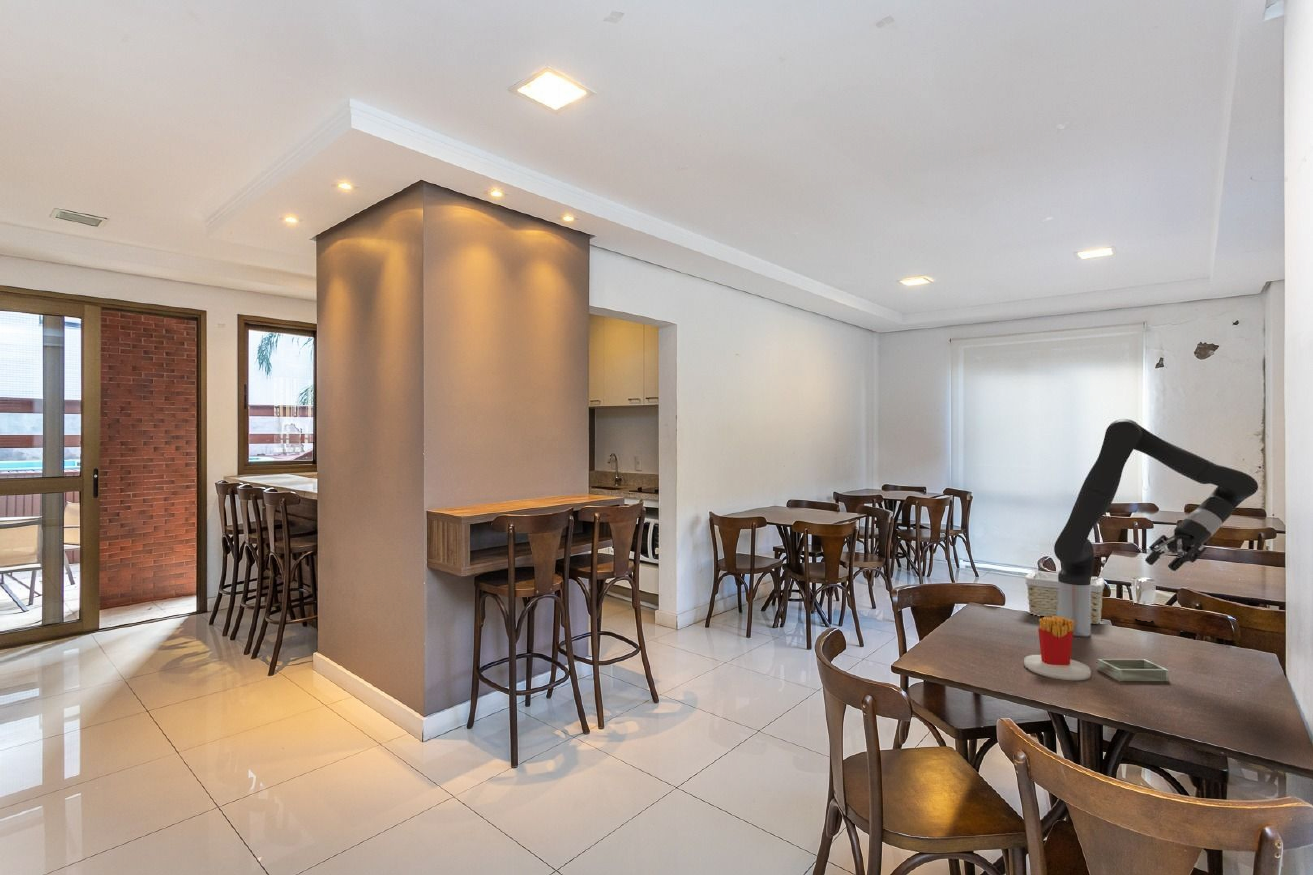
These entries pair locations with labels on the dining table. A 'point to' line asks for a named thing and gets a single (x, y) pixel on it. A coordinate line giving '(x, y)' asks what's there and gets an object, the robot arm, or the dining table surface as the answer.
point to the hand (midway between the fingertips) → (1159, 565)
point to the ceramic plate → (1058, 669)
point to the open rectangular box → (1132, 670)
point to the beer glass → (1143, 590)
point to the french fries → (1056, 640)
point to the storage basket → (1046, 594)
